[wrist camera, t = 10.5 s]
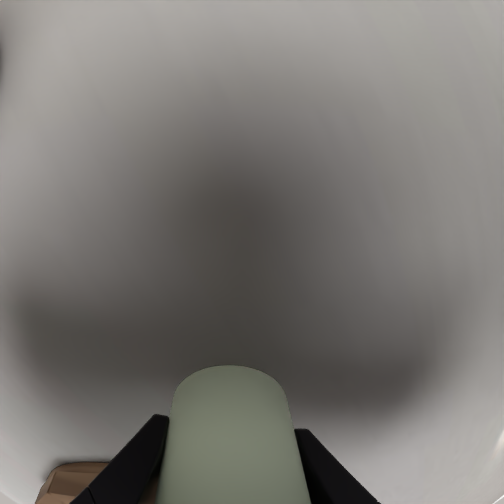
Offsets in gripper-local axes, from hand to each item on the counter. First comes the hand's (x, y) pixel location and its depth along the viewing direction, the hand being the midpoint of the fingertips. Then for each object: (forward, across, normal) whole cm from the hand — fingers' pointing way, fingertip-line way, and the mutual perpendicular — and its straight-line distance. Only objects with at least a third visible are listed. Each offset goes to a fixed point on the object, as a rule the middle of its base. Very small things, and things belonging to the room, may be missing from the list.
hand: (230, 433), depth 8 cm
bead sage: (+1, 0, 0) cm, 1 cm away
